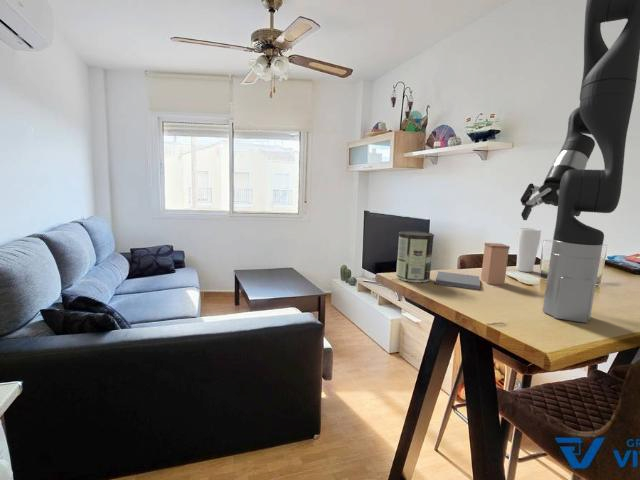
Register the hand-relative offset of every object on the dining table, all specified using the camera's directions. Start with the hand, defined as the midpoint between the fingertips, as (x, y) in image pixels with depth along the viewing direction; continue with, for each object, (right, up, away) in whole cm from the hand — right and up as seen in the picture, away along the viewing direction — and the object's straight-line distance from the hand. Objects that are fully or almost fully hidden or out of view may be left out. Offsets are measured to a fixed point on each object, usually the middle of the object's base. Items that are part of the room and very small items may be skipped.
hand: (540, 223), depth 97 cm
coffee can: (-31, -17, +15) cm, 38 cm away
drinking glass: (+14, -16, +32) cm, 39 cm away
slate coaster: (-18, -17, +13) cm, 28 cm away
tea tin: (-6, -17, +15) cm, 24 cm away
